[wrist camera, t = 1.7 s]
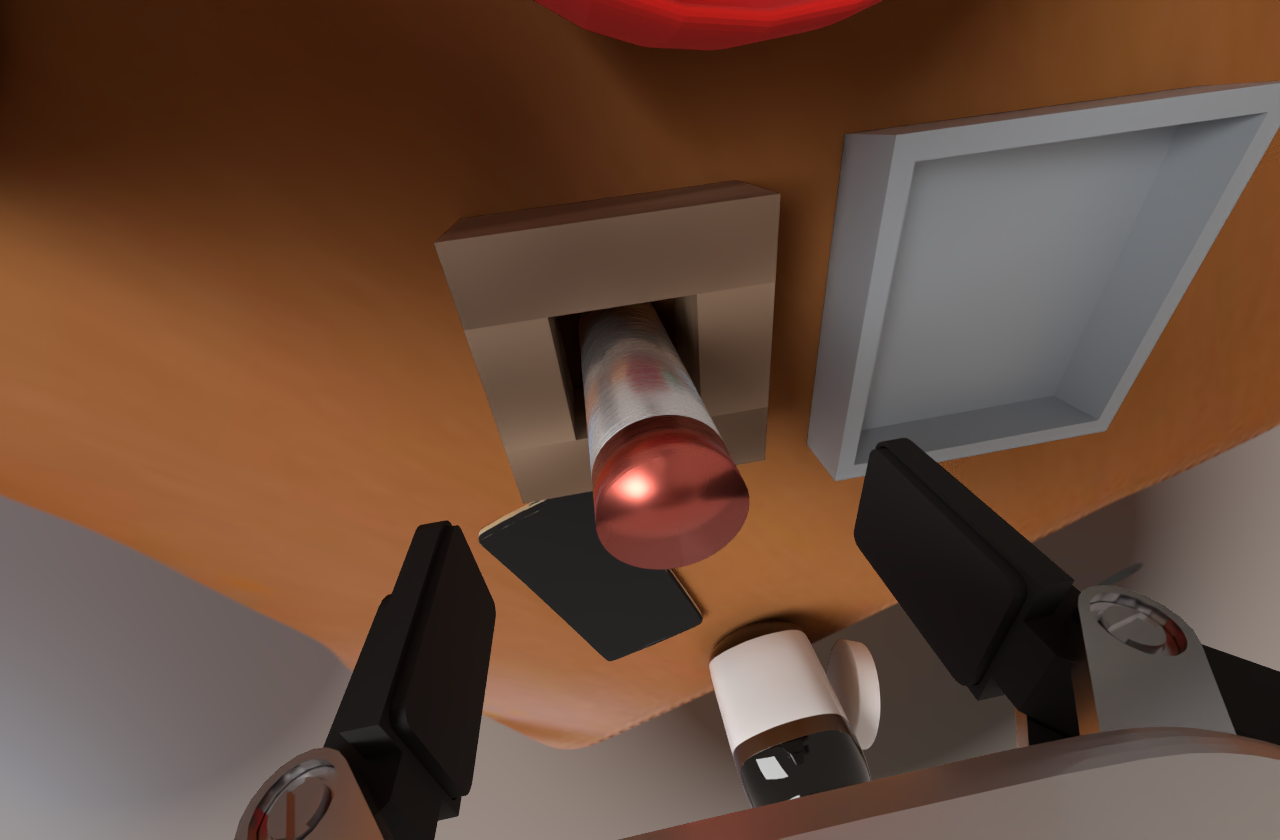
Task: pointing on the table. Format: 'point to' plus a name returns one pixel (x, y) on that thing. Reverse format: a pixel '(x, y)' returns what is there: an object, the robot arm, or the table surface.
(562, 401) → the walnut socket block
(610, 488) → the steel pin
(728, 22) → the red bowl
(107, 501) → the table surface
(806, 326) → the table surface
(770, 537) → the table surface
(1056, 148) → the slate tray
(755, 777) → the jar and lid
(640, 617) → the dark small pieces
